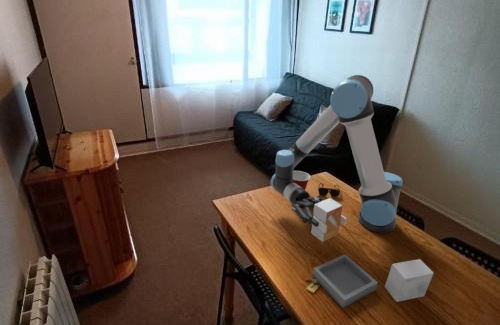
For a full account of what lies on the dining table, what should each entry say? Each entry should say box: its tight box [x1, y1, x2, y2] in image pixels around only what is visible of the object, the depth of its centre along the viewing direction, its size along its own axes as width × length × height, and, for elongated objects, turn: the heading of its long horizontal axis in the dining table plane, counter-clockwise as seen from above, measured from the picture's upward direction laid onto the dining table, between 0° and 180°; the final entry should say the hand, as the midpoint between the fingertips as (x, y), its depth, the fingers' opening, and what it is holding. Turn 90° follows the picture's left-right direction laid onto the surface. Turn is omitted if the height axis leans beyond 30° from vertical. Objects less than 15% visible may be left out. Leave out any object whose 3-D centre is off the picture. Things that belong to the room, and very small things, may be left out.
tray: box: [312, 254, 379, 309], centre depth 99 cm, size 14×14×4 cm
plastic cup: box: [292, 170, 311, 191], centre depth 145 cm, size 11×11×12 cm
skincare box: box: [384, 258, 434, 303], centre depth 94 cm, size 10×6×10 cm, turn 103°
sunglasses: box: [317, 182, 341, 198], centre depth 152 cm, size 10×12×5 cm
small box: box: [311, 197, 343, 243], centre depth 109 cm, size 8×6×13 cm
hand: (335, 225), depth 105 cm, fingers closed on small box, 8 cm apart
